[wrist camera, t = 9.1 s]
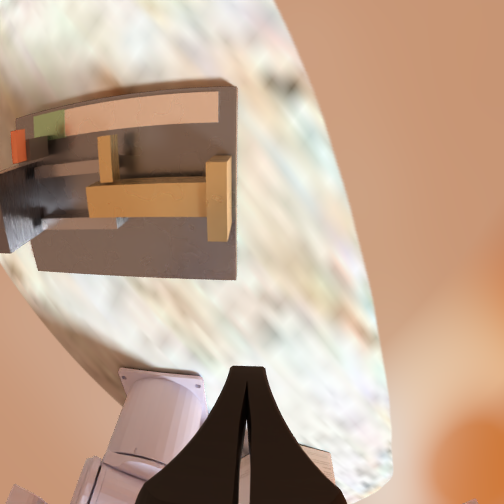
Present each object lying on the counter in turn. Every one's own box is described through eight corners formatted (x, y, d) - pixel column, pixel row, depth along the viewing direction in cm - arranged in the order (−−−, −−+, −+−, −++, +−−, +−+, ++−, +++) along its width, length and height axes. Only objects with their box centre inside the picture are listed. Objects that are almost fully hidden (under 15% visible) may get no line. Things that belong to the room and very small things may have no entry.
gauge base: (236, 273, 21) (231, 320, 16) (44, 265, 21) (7, 298, 17) (237, 88, 17) (230, 75, 12) (23, 117, 17) (-26, 124, 12)
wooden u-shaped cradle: (232, 222, 19) (227, 241, 16) (109, 222, 19) (87, 239, 16) (232, 127, 16) (227, 128, 14) (101, 135, 16) (76, 140, 14)
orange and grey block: (48, 156, 17) (22, 163, 14) (36, 158, 17) (9, 166, 14) (46, 125, 16) (19, 129, 13) (34, 128, 16) (7, 132, 13)
